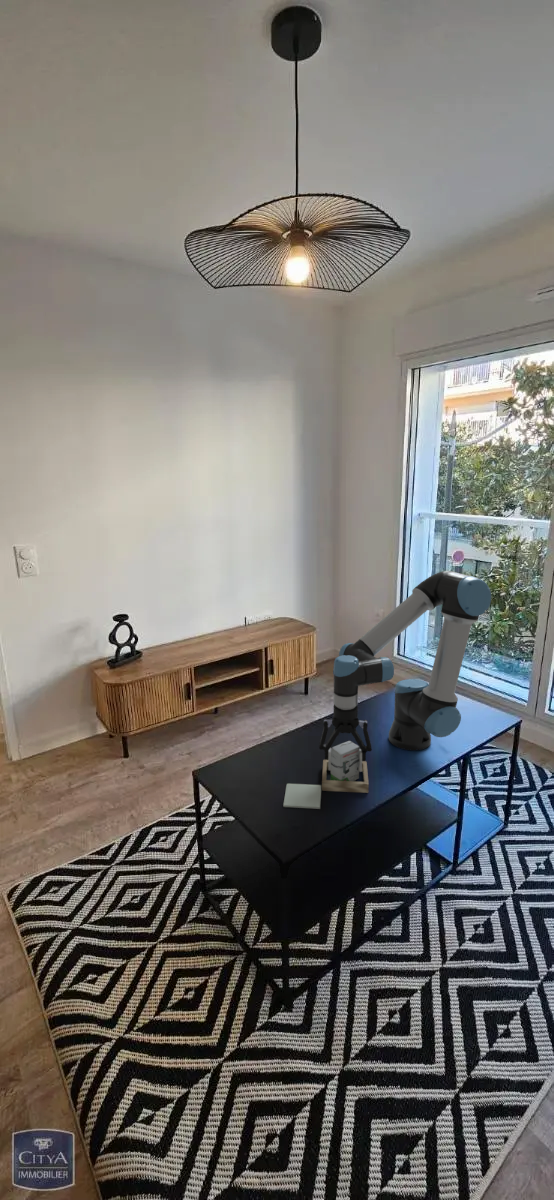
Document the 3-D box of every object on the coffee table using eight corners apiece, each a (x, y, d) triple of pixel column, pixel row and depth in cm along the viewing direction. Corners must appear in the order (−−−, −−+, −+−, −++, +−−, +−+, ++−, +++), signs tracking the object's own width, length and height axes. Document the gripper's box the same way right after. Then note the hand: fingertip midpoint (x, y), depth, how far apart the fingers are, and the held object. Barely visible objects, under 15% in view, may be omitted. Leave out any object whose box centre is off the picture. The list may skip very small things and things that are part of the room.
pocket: (366, 769, 172) (366, 761, 171) (368, 792, 160) (368, 784, 159) (323, 767, 174) (323, 759, 173) (322, 790, 161) (322, 782, 161)
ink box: (340, 788, 162) (340, 754, 159) (329, 780, 166) (329, 748, 163) (359, 778, 167) (360, 745, 164) (349, 771, 171) (349, 739, 168)
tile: (321, 786, 163) (321, 785, 163) (320, 808, 153) (320, 807, 153) (286, 785, 165) (286, 783, 164) (283, 806, 154) (283, 805, 154)
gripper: (380, 700, 162) (378, 763, 168) (311, 698, 165) (311, 760, 171) (382, 711, 155) (380, 776, 161) (309, 709, 158) (310, 773, 163)
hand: (345, 768), depth 166 cm, fingers closed on ink box, 9 cm apart
